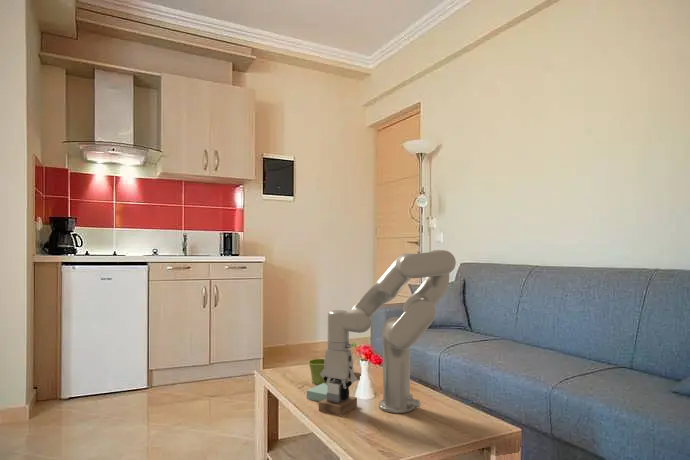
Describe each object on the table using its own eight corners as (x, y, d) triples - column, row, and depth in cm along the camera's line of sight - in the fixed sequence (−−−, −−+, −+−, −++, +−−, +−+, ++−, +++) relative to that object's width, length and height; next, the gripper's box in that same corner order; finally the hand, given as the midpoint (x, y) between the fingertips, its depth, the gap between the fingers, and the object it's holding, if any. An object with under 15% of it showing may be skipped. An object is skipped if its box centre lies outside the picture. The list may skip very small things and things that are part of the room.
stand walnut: (356, 406, 165) (356, 397, 165) (340, 415, 155) (340, 406, 155) (335, 401, 169) (335, 393, 169) (318, 410, 160) (318, 402, 160)
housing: (349, 398, 164) (349, 377, 164) (338, 404, 158) (338, 382, 158) (337, 395, 167) (337, 375, 167) (326, 401, 161) (326, 380, 161)
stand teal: (342, 394, 177) (342, 386, 177) (326, 403, 168) (326, 394, 168) (323, 390, 182) (323, 383, 182) (306, 398, 173) (306, 390, 173)
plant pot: (330, 385, 188) (330, 364, 189) (307, 385, 189) (307, 364, 189) (331, 379, 198) (331, 358, 198) (309, 379, 198) (309, 358, 198)
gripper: (364, 346, 162) (364, 398, 161) (324, 341, 171) (323, 390, 170) (353, 350, 155) (353, 405, 155) (312, 344, 164) (312, 396, 164)
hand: (338, 397), depth 162 cm, fingers closed on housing, 5 cm apart
